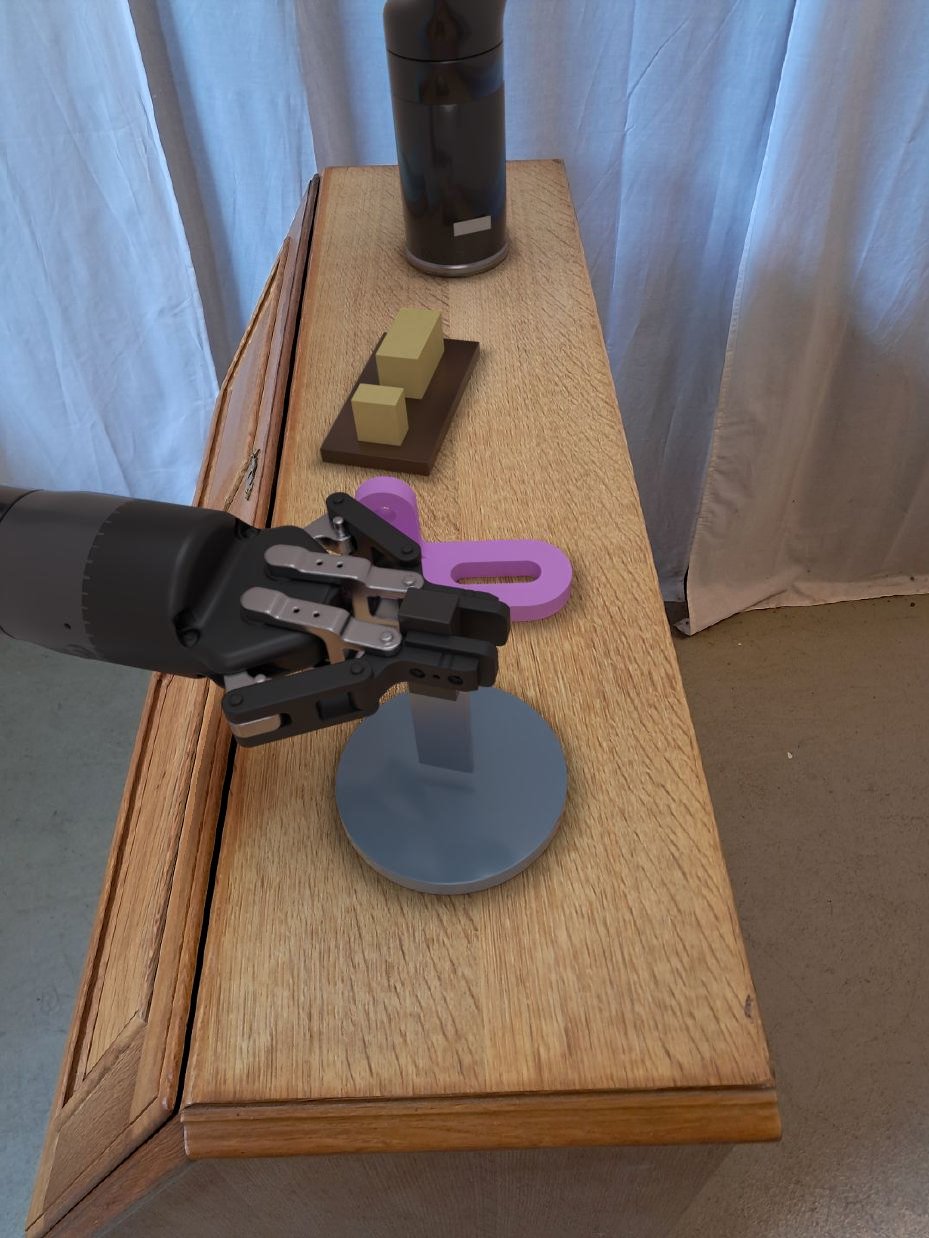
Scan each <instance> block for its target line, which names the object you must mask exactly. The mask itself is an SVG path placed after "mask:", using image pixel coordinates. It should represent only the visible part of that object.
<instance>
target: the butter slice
mask: <svg viewBox="0 0 929 1238" xmlns="http://www.w3.org/2000/svg"><path fill="white" fill-rule="evenodd" d="M351 403H352V408H353V414H354V420H355V425H356V431H357V437H358V441H365V442H373V443H381V444H389V445H397V446H401V444H402V442H403V440H404V438H405V435H406V433H407V431H408V429H409V428H408V420H407V411H406V403H405V395H404V388H397V387H388V386H379V385H370V384H360V385H359V387H358V389H357V390H356V392H355V394H354V396H353V398H352V400H351Z"/></svg>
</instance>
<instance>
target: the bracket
mask: <svg viewBox="0 0 929 1238" xmlns="http://www.w3.org/2000/svg"><path fill="white" fill-rule="evenodd" d="M354 499H356V500H357V501H359V502H360V503H361V504H363V505H364V506H366V507H367V508H368V509H370V510H371V511H373V512H374V513H375V514H377V515H378V516H380V517H381V518H383V519H384V520H385V521H387V522H388V523H390V524H391V525H392V526H394V527H395V528H397V529H398V530H400V531H401V532H402V533H404V534H405V535H407V536H408V537H409V538H411V539H412V540H414V541H415V542H416V543H418V544H419V545H420V547H421V552H422V559H421V560H422V568H423V576H424V578H425V579H426V580H427V581H429V582H431V583H433V584H438V585H445V586H451V587H457V588H464V589H465V590H467V589H470V590H474V591H482V592H489V593H491V594H492V595H494V596H496V597H498V598H499V601H502V602H504V603H506V604H507V605H508V606H509V608H510V623H511V622H534V621H539V620H543V619H546V618H549V617H551V616H553V615H554V614H556V613H558V612H559V611H561V609H563V607H565V605H566V604H567V602H568V601H569V600H570V597H571V592H572V581H573V579H572V578H573V568H572V564H571V562H570V560H569V557H568V556H567V555H566V554H565V553H564V551H562V550H561V549H559V548H558V547H557V546H555V545H553V544H551V543H549V542H546V541H544V540H539V539H533V538H532V539H529V538H521V539H520V538H519V539H490V540H488V539H485V540H458V541H457V540H455V541H426V540H424V539H423V538H422V531H421V523H420V516H419V508H418V502H417V499H418V498H417V496H416V493H415V491H414V489H413V488H412V487H411V486H410V485H409V484H408V483H407V482H405V481H403V480H401V479H399V478H396V477H393V476H374V477H371V478H369V479H366V480H365V481H363V482H362V483H361V484H360V485H359V486H358V487H357V489H356V491H355V494H354ZM351 557H352V556H351ZM497 577H498V578H499V577H500V578H501V577H503V578H504V577H531V578H534V579H535V580H533V581H529V582H503V583H501V582H500V583H470V584H469V583H468V584H464V583H463V584H461V583H458V582H457V581H459V580H461V579H466V578H468V579H469V578H471V579H472V578H497ZM381 597H383V598H390V599H397V598H392V597H384V596H381Z"/></svg>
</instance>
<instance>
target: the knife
mask: <svg viewBox="0 0 929 1238" xmlns="http://www.w3.org/2000/svg"><path fill="white" fill-rule="evenodd" d="M397 616H398V622H399V627H398V628H399V629H398V630H399V631H400V633H401V635H402V636H404V637H406V635H407V633H408V630H409V629H414V630H420V631H426V632H432V633H438V634H444V635H454V636H460V637H462V627H461V613H460V599H459V595H457V594H451V593H444V592H438V591H432V590H426V589H420V588H414V587H408V589H407V591H406V594H405V596H404V599H403V602H402V604H401V607H400V609H399V612H398V614H397ZM406 685H407V691H408V693H409V699H410V706H411V712H412V719H413V725H414V732H415V738H416V744H417V751H418V757H419V763H421V764H426V765H431V766H436V767H441V768H446V769H451V770H456V771H461V772H466V773H470V774H472V773H473V770H474V760H473V746H472V731H471V717H470V703H469V692H461V691H456V690H452V689H445V688H442V687H434V686H429V685H423V684H418V683H412V682H406Z"/></svg>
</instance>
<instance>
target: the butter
mask: <svg viewBox="0 0 929 1238" xmlns="http://www.w3.org/2000/svg"><path fill="white" fill-rule="evenodd" d="M387 332H388V333H387V334H386V336H385V338H384V340H383V342H382V344H381V345H380V347H379V349H378V351H377V353H376V362H377V369H378V376H379V382H380V386H388V387H397V388H404V395H405V398H414V399H422V398H423V396H424V393H425V391H426V389H427V387H428V385H429V383H430V381H431V378H432V376H433V374H434V372H435V370H436V368H437V366H438V363H439V361H440V359H441V357H442V355H443V353H444V339H443V338H444V328H443V315H442V310H435V309H426V308H425V309H423V308H416V307H415V308H414V307H402V306H401V307H400V309H399V310H398V313H397V314H396V316H395V317H394V320H393V322H392V323H391V325H390V327H389V329H388V330H387Z"/></svg>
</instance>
